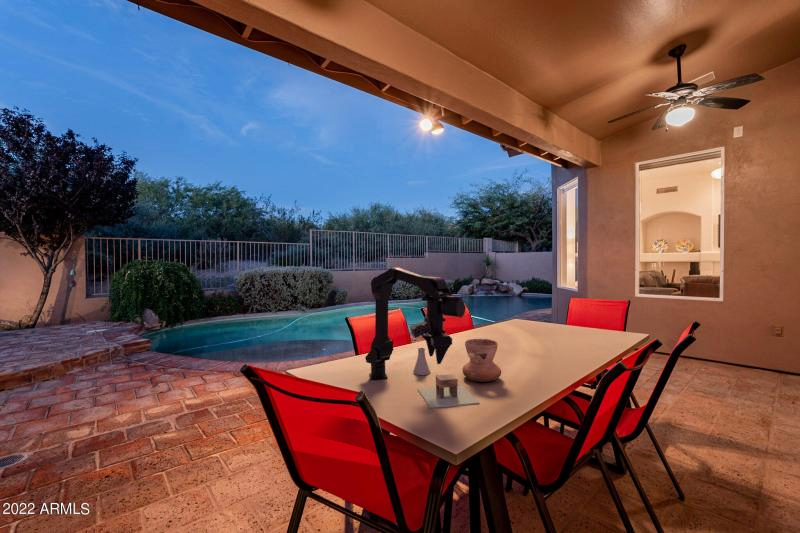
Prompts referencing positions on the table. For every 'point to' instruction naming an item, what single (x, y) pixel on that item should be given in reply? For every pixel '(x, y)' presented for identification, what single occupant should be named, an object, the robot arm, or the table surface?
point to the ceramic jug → (481, 360)
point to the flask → (421, 363)
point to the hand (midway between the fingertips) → (434, 359)
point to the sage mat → (447, 397)
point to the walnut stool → (446, 384)
